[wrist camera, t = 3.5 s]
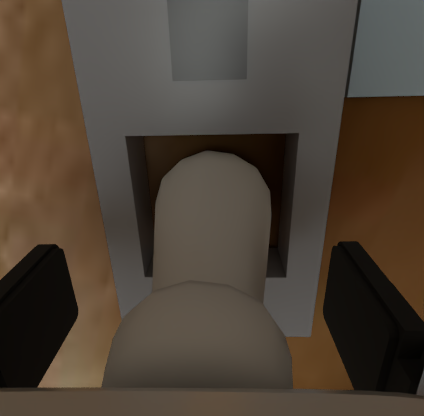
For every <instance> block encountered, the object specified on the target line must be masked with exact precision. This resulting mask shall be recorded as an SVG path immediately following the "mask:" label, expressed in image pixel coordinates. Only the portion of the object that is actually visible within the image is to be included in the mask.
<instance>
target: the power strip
mask: <svg viewBox="0 0 424 416" xmlns="http://www.w3.org/2000/svg"><path fill="white" fill-rule="evenodd" d="M357 4H358V0H62V5H63V10H64V16H65V21H66V26H67V32H68V37H69V42H70V47H71V53H72V58H73V63H74V69H75V74H76V79H77V85H78V90H79V95H80V101H81V106H82V111H83V117H84V122H85V127H86V132H87V138H88V143H89V148H90V154H91V159H92V164H93V170H94V175H95V180H96V186H97V191H98V196H99V202H100V207H101V212H102V217H103V223H104V228H105V233H106V239H107V244H108V249H109V255H110V260H111V265H112V271H113V276H114V281H115V287H116V292H117V297H118V302H119V308H120V313H121V318H122V319H123V318H124V317H125V316H126V315H127V314H128V313H129V312H130V311H131V310H132V309H133V308H134V307H135V306H137V305H138V304H139V303H140V302H141V301H143V300H144V299H145V298H146V297H147V296H149V295H150V294H151V293H152V282H153V256H154V228H153V219H152V210H151V202H150V193H149V184H148V176H147V167H146V158H145V150H144V141H143V136H163V135H220V134H277V133H286V138H285V152H284V166H283V180H282V194H281V208H280V222H279V236H278V248H268V259H267V270H266V280H265V291H264V301H263V305H264V306H265V308H266V309H267V311H268V312H269V314H270V315H271V316H272V318H273V319H274V321H275V322H276V324H277V325H278V326H279V328H280V329H281V331H282V332H283V334H284V335H285V337H311V330H312V322H313V315H314V308H315V301H316V294H317V287H318V280H319V273H320V266H321V259H322V252H323V245H324V238H325V230H326V223H327V216H328V209H329V202H330V195H331V188H332V181H333V174H334V167H335V160H336V153H337V145H338V138H339V131H340V124H341V117H342V110H343V103H344V96H345V89H346V82H347V75H348V68H349V61H350V53H351V46H352V39H353V32H354V25H355V18H356V11H357Z"/></svg>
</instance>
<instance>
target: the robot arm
mask: <svg viewBox="0 0 424 416" xmlns="http://www.w3.org/2000/svg"><path fill="white" fill-rule="evenodd" d="M323 315H324V319H325V321H326V324H327V326H328V328H329V331H330V333H331V335H332V338H333V340H334V343H335V345H336V347H337V350H338V352H339V354H340V357H341V359H342V362H343V364H344V366H345V369H346V371H347V373H348V376H349V378H350V380H351V383H352V385H353V388H354V390H324V389H253V388H37V387H38V385H39V383H40V382H41V380H42V378H43V376H44V375H45V373H46V371H47V369H48V368H49V366H50V364H51V363H52V361H53V359H54V357H55V356H56V354H57V352H58V350H59V349H60V347H61V345H62V344H63V342H64V340H65V338H66V337H67V335H68V333H69V331H70V330H71V328H72V326H73V324H74V323H75V321H76V319H77V316H78V306H77V302H76V298H75V294H74V290H73V286H72V282H71V278H70V274H69V270H68V266H67V262H66V258H65V254H64V251H63V249H61V248H59V247H58V246H57V245H56V244H40V245H37V246H36V247H35V248H34V249H33V250H31V251H30V252H29V253H28V254H27V255H26V256H25V257H24V258H23V259H22V260H21V261H20V262H19V263H18V264H17V265H16V266H15V267H14V268H13V269H12V270H10V271H9V272H8V273H7V274H6V275H5V276H4V277H3V278H2V279H1V280H0V416H424V322H423V321H422V319H421V318H420V317H419V316H418V314H417V313H416V312H415V311H414V309H413V308H412V307H411V306H410V305H409V303H408V302H407V301H406V300H405V298H404V297H403V296H402V295H401V293H400V292H399V291H398V290H397V289H396V287H395V286H394V285H393V284H392V283H391V282H390V281H389V280H388V278H387V277H386V276H385V275H384V273H383V272H382V271H381V270H380V268H379V267H378V266H377V265H376V263H375V262H374V261H373V260H372V258H371V257H370V256H369V255H368V254H367V252H366V251H365V250H364V249H363V247H362V246H361V245H360V244H359V243H358V242H356V241H351V242H339V243H338V245H337V246H333V248H332V252H331V259H330V266H329V272H328V279H327V286H326V292H325V299H324V305H323Z"/></svg>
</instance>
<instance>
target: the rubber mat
mask: <svg viewBox="0 0 424 416" xmlns="http://www.w3.org/2000/svg"><path fill="white" fill-rule="evenodd" d="M381 96H424V0H358V4H357V11H356V18H355V25H354V32H353V39H352V46H351V53H350V61H349V68H348V75H347V82H346V89H345V96H344V97H381Z"/></svg>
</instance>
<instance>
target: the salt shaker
mask: <svg viewBox="0 0 424 416" xmlns="http://www.w3.org/2000/svg"><path fill="white" fill-rule="evenodd" d="M271 217H272V213H271V198H270V190H269V188H268V187H267V185H266V183H265V181H264V180H263V178H262V176H261V174H260V173H259V171H258V169H257V168H256V167H254V166H253V165H251V164H249V163H248V162H246V161H244V160H243V159H241V158H239V157H238V156H236V155H234V154H231V153H224V152H217V151H209V150H206V151H203V152H201V153H198V154H195V155H192V156H190V157H187V158H184V159H182V160H180V161H179V162H178V163H177V164H176V165H175V166H174V167H173V168H172V169H171V170H170V171H169V172H168V173H167V174H166V175H165V176H164V177H163V178H162V181H161V184H160V188H159V191H158V195H157V199H156V204H155V230H154V256H153V282H152V293H151V294H150V295H149V296H147V297H146V298H145V299H144V300H143V301H141V302H140V303H139V304H138V305H137V306H135V307H134V308H133V309H132V310H131V311H130V312H129V313H128V314H127V315H126V316H125V317H124V318H123V319H122V321H121V323H120V325H119V327H118V330H117V332H116V334H115V336H114V338H113V341H112V344H111V348H110V352H109V356H108V359H107V363H106V367H105V372H104V377H103V382H102V387H101V388H253V389H293V381H292V357H291V354H290V351H289V348H288V344H287V341H286V338H285V335H284V334H283V332H282V331H281V329H280V328H279V326H278V325H277V324H276V322H275V321H274V319H273V318H272V316H271V315H270V314H269V312H268V311H267V309H266V308H265V306H264V305H263V301H264V291H265V280H266V270H267V259H268V248H269V238H270V227H271Z"/></svg>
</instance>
